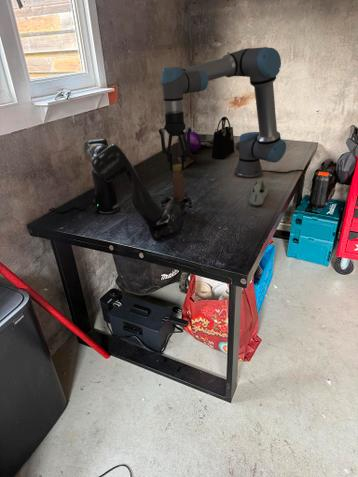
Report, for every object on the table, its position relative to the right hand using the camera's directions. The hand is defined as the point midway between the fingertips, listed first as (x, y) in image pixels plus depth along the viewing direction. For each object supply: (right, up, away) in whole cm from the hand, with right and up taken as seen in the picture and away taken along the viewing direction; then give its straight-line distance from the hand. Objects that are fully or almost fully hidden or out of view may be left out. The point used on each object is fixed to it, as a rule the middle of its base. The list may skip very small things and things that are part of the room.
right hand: (177, 169), depth 141 cm
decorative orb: (+9, +31, +93) cm, 99 cm away
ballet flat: (+40, -10, +20) cm, 45 cm away
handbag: (+31, +27, +84) cm, 94 cm away
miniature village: (+57, +38, +99) cm, 121 cm away
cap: (0, +1, -1) cm, 1 cm away
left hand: (+1, -10, +9) cm, 14 cm away
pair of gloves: (+24, +43, +112) cm, 123 cm away
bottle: (+1, -17, +10) cm, 20 cm away
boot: (+6, +19, +73) cm, 76 cm away
